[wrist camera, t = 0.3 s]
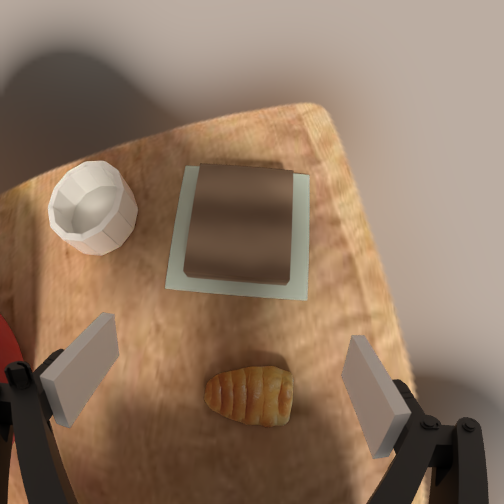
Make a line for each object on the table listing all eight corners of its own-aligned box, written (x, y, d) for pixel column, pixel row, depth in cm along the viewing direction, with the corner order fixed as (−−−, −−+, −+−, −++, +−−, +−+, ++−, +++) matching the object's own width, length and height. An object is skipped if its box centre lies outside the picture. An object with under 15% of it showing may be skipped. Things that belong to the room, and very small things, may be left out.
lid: (285, 285, 35) (289, 280, 32) (187, 277, 35) (182, 271, 32) (289, 183, 38) (293, 170, 36) (202, 176, 38) (200, 163, 36)
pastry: (204, 418, 31) (199, 426, 27) (207, 360, 33) (203, 362, 29) (289, 423, 31) (294, 432, 27) (293, 366, 33) (299, 368, 29)
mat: (306, 300, 34) (307, 300, 34) (165, 288, 34) (164, 288, 34) (308, 176, 39) (309, 175, 39) (186, 166, 39) (185, 165, 39)
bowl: (129, 259, 35) (110, 243, 30) (63, 252, 35) (39, 237, 29) (145, 185, 38) (131, 160, 32) (82, 184, 38) (63, 162, 32)
